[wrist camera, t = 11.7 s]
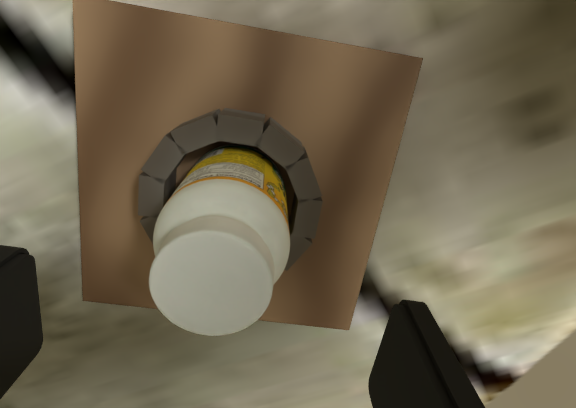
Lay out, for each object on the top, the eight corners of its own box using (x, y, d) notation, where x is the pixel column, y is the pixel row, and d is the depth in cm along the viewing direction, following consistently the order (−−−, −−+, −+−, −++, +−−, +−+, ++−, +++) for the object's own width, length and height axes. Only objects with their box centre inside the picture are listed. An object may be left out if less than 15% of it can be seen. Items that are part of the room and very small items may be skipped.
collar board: (412, 58, 20) (444, 57, 16) (344, 315, 26) (356, 358, 22) (87, -2, 19) (40, -17, 15) (93, 286, 24) (61, 327, 21)
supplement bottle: (195, 133, 20) (130, 192, 11) (294, 153, 20) (311, 225, 11) (184, 225, 21) (120, 341, 13) (275, 240, 22) (276, 362, 13)
